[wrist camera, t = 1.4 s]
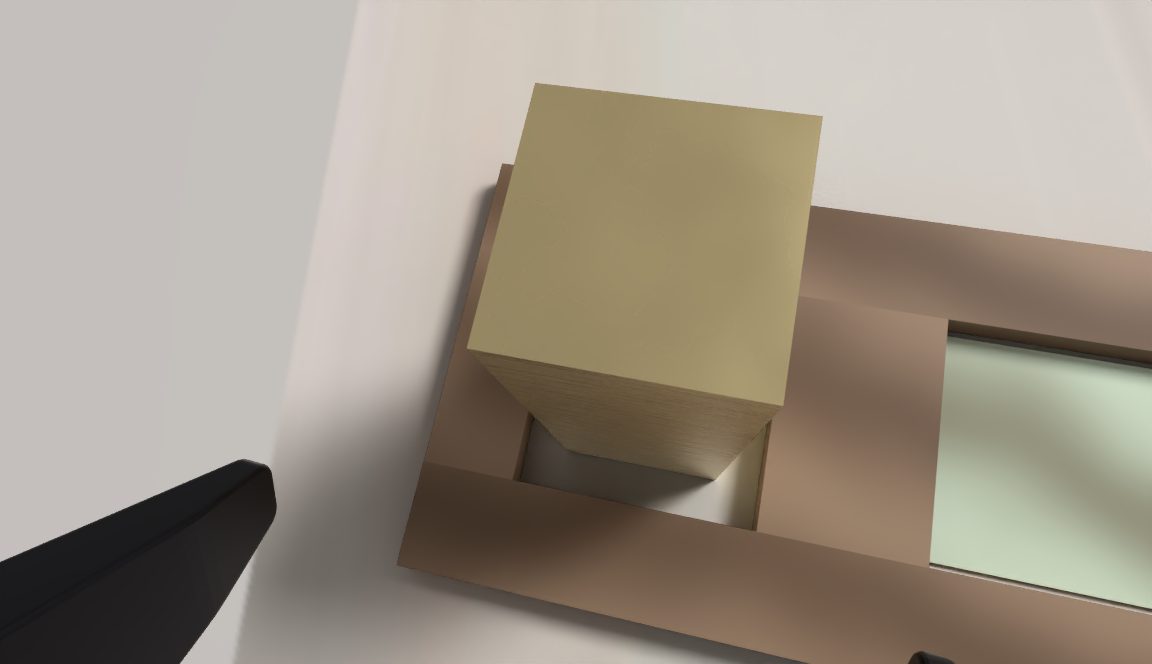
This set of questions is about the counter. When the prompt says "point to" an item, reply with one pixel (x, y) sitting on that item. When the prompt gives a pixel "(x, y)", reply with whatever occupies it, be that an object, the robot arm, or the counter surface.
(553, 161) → the tall khaki block
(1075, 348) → the brown double frame
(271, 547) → the counter surface
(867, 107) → the counter surface
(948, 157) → the counter surface
